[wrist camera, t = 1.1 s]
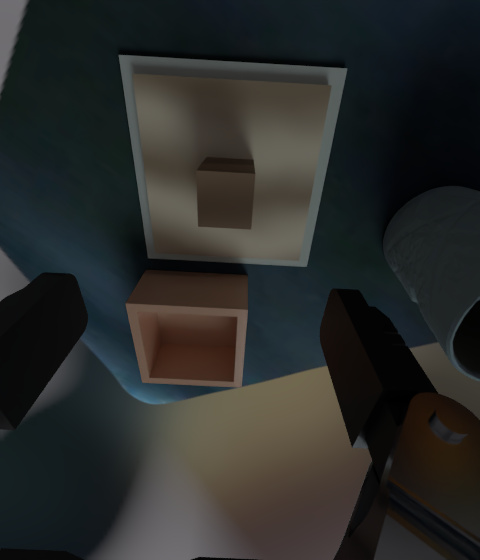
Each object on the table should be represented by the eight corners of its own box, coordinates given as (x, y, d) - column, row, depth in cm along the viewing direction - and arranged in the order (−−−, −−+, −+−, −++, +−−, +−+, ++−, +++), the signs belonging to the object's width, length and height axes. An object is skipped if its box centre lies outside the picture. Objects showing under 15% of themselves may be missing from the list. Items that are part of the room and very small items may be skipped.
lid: (136, 74, 19) (96, 63, 14) (328, 86, 19) (357, 79, 14) (157, 249, 26) (136, 283, 21) (297, 256, 26) (309, 292, 21)
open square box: (146, 269, 27) (125, 303, 23) (247, 274, 27) (247, 309, 23) (157, 342, 33) (142, 382, 28) (242, 347, 33) (241, 387, 28)
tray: (121, 55, 18) (118, 54, 18) (345, 69, 19) (347, 68, 18) (149, 256, 26) (148, 258, 26) (305, 264, 27) (306, 266, 26)
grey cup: (521, 196, 23) (741, 270, 13) (442, 293, 28) (553, 400, 18) (411, 162, 22) (557, 213, 11) (351, 270, 27) (414, 370, 17)
